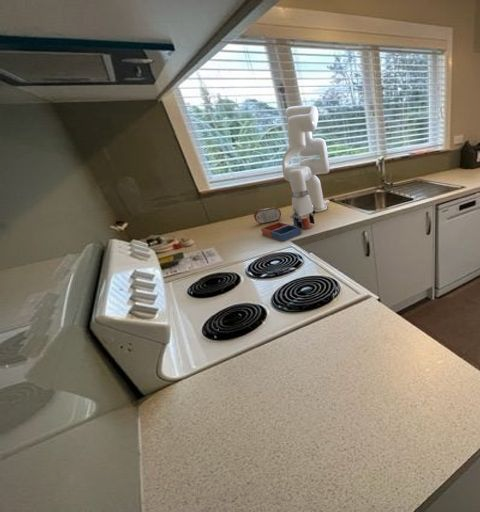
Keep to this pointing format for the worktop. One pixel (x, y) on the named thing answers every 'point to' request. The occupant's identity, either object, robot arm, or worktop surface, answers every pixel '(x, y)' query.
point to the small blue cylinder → (295, 222)
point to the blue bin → (286, 232)
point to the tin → (267, 215)
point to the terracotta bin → (272, 228)
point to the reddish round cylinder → (305, 222)
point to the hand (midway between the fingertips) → (306, 225)
